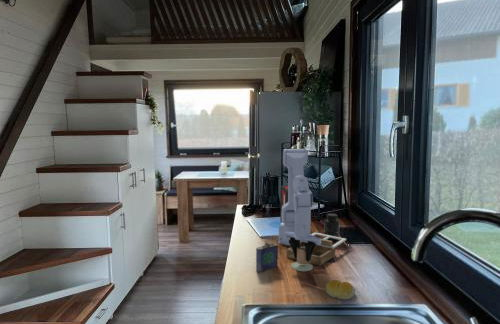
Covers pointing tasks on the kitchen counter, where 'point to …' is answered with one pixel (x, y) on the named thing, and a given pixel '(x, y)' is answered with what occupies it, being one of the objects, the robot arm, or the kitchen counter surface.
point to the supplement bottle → (331, 227)
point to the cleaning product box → (283, 197)
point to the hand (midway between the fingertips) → (302, 259)
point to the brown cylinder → (301, 255)
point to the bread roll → (340, 289)
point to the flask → (266, 257)
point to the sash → (326, 242)
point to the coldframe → (316, 254)
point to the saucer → (302, 266)
